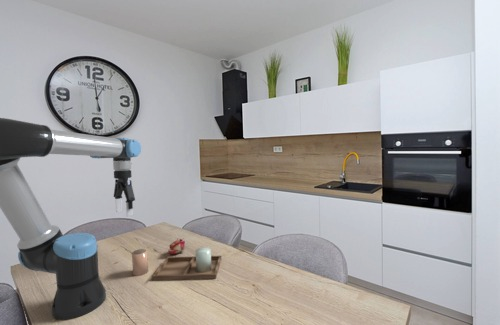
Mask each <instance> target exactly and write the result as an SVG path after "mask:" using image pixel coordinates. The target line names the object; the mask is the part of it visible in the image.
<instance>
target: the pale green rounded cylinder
mask: <svg viewBox="0 0 500 325" xmlns="http://www.w3.org/2000/svg"><path fill="white" fill-rule="evenodd" d="M195 256H196V270H197V271H198V272H208V271H210V270H211V268H212V266H211V256H212V249H211V248H210V247H208V246H205V247H204V246H202V247H199V248H197V249H195Z"/></svg>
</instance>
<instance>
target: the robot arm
mask: <svg viewBox="0 0 500 325" xmlns="http://www.w3.org/2000/svg"><path fill="white" fill-rule="evenodd" d="M141 153H142V146H141V142H139V141H138V140H136V139H130V138H129V137H109V136H108V137H107V136H101V135H100V136H99V135H92V134H86V133H78V132H72V131H64V130H63V131H62V130H56V129H52V128H50V127H49V126H48V125H44V124H40V123H39V124H38V123H32V122H26V121H21V120H17V119H10V118H5V117H0V211H1V212H2V213H3V215H4V216H5V218H6V219H7V221H8V223H9V224H10V226H11V227H12V229H13V231H14V232H15V233H16V235H17V237H18V238H19V240H18V242H17V245H16V246H17V249H18V250H19V252H18V254H17V255H18V256H17V257H18V261H19V263H20V264H21V266H23V267H24V268H26V269H27V270H30V271H35V272H43V273H50V274H54V275H55V278H56V279H55V280H56V291H55V295H54V298H53V302H52V305H51V315H52V317H53V318H54V319H57V320H69V319H75V318H78V317H81V316H83V315H86V314H88V313H90V312H92V311H95V309H97V308H99V307H100V306H101V305H102V304H103V303H104V302H105V301H106V299H107V292H106V291H107V290H106V288H105V286H104V284H103V283H102V280H101V278H100V275H99V272H100V271H99V259H98V258H99V257H98V256H99V255H98V244H97V239H96V237H95V236H94V235H93V234H91V233H87V232H79V233H77V232H75V233H73V232H72V233H69V234H65V235H64V234H63V232H62V231H61V229H60V227H59V226H58V225H52V223H51V222H50V221H49V219H48V217H47V215H46V214H45V212H44V209H43V208H42V206H41V204H40V203H39V201H38V199H37V197H36V194H34V192H33V190H32V188H31V186H30V185H29V182H28V181H27V179H26V178H25V176H24V174H23V172H22V171H21V169H20V167H19V165H18V163H19V161H20V160H21V158H32V157H33V158H35V157H41V158H44V157H47V156H49V155H67V156H86V157H87V156H88V157H90V158H92V159H111V158H112V163H113V164H112V167H113V170H114V171H113V178H114V179H115V184H114V189H113V190H114V191H113V197H114V199H115V212H116V213H119V212H121V213H122V212H123V196H122V195H123V193H124V196H125V199H126V200H125V206H126V208H125V209H126V217H131V216H132V217H133V216H134V201H136V197H135V193H134V189H133V185H132V183H133V182H132V180H129V178H130V179H131V178H132V170H131V169H132V164H133V163H132V161H131V160H132V158H136V157H138V156H139V155H140V154H141Z"/></svg>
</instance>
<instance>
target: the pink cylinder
mask: <svg viewBox="0 0 500 325" xmlns="http://www.w3.org/2000/svg"><path fill="white" fill-rule="evenodd" d="M148 260H149V258H148V249H147V248H139V249H136V250H134V251H132V252H131V264H132V275H133V276H134V277H140V276H145V275H146V274H148V273H149V261H148Z"/></svg>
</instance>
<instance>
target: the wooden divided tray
mask: <svg viewBox="0 0 500 325" xmlns="http://www.w3.org/2000/svg"><path fill="white" fill-rule="evenodd" d="M221 262H222V255H211V266H212V268H211V270H210V271H208V272H198V271H197V270H196V255H195V256H194V255H193V256H169V257H166V258H165V259H164V260H163V262H162V263H161V264H160V265H159V266H158V268H157V269H156V271H155V272H154V273H153V274H152V276H151V281H152V282H153V281H188V280H192V281H193V280H195V281H196V280H216V279H217V277H218V273H219V269H220V266H221Z"/></svg>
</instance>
